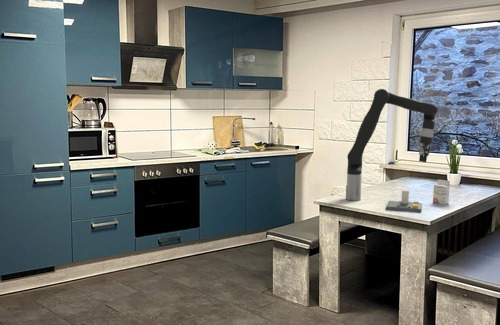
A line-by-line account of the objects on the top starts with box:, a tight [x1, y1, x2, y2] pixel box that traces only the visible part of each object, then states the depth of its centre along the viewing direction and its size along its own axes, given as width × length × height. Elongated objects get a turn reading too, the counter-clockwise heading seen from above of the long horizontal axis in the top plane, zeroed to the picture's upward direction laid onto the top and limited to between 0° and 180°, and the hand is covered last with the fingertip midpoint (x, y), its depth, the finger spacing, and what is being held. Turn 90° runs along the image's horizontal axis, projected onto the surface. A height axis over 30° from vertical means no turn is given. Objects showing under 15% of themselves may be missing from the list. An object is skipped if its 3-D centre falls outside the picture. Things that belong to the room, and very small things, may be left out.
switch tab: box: [400, 189, 410, 204], centre depth 311 cm, size 4×4×8 cm
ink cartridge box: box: [432, 179, 451, 205], centre depth 322 cm, size 9×5×15 cm, turn 44°
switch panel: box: [385, 200, 423, 213], centre depth 308 cm, size 20×18×4 cm
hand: (422, 161), depth 316 cm, fingers open, 8 cm apart
